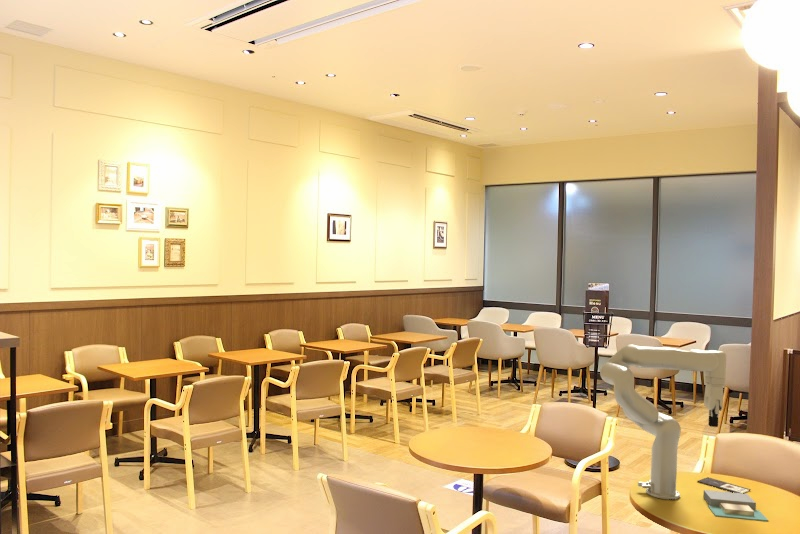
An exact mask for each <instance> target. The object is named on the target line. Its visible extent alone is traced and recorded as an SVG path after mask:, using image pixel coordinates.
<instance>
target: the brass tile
mask: <svg viewBox="0 0 800 534" xmlns="http://www.w3.org/2000/svg"><path fill="white" fill-rule="evenodd" d="M719 507H720V508H721V509H722V510H723V511H724V512H725V513H729V514H739V515H750V516H754V511H753V510H752V509H751V508H750V507H749V506H748V505H745V504H734V503H723V502H720V504H719Z"/></svg>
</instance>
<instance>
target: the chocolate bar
mask: <svg viewBox="0 0 800 534" xmlns="http://www.w3.org/2000/svg"><path fill="white" fill-rule="evenodd" d="M696 483H699V484H701V485H702V484H703V485H706V486H709V487H712V486H713V488H715V487H716V489H719V490H722V489H723V491H726V490H727V491H726V492H729V491H730V492H734V493H744V494H747V493H748V491H749V492H750V490H752V489H750V488H747V487H743V486H739V485H737V484H734V483H729V482H727V481H723V480H719V479H716V478H712V477H708V476H707V477H704V478H702V479H699V480H697V481H696Z"/></svg>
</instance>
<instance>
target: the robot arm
mask: <svg viewBox="0 0 800 534" xmlns="http://www.w3.org/2000/svg"><path fill="white" fill-rule="evenodd" d="M600 367H601V368H600V373H599V375H600V378H601V379H602V381H603V382H605V383H607V384H609V385H611V386H614V387H613V388H614V391H613V392H614V393H613V394H614V399H615V402H616V403H617V405H619V407H621V408H622V412H623V414H624V415H625V417H626V418H627V419H628V420H630V421H631V422H632V423H634V424H635V425H637V426H638V427H639V428H641V429H642V430H643V431H645V432H647V433H649V435H652V436H655V437H654V440H653V442H652V446H651V456H650V457H651V459H650V460H651V461H650V463H651V464H650V479H648V481H645V482H643V481H640V480H639V481H638V482H637V486H638V487H640V488H641V487H642V488H641V489H645V492H646V494H647V495H649V496H651V497H653V498H655V499H656V498H657V499H661V500H669V499H670V501H671V499H672V500H678V499H679V498H681V493H680V492H679V491H677V475H678V474H677V469H678V449H679V441H680V439H681V438H680V437H681V434H682V431H681V430H682V428H681V425H680V423H679V421H678V420H677V419H675V418H674V417H672V416H670V415H667V414H666V413H662V412H660V411H659V410H658V408H657V406H656V405H655V404H654V403H652V402H651V401H650V400H648V399H646V397H644V396H643V395H641V394H640V393H639V392H637V390H636V389H635V377H634V373H633V371H632V370H631V369H630V367H635V368H638V369H650V370H651V369H653V370H654V369H657V370H658V369H660V370H675V371H676V370H677V371H689V372H690V371H691V372H704V385H705V387H704V396H703V397H704V398H703V406H704V407H705V408H707V410H708V424H707V425H708V426H709V427H711V428H712V427H714V428H718V427H719V415H720V411H722V410H723V409H724V407H723V406H724V387H726V373H727V371H726V368H727V354H726V352H725V351H722V350H716V349H715V350H714V349H710V350H703V349H695V348H694V349H693V348H692V349H689V350H682V349H677V348H673V347H658V346H656V347H655V346H640V345H635V344H633V343H632V344H626V345H625V346H623V347H621V348H620V349H619V350H617V352H615V353H614V354H613V355H612V356H611V357H610V358H609V359H608V360H606V361H605V362H604V363H603V365H602V366H600Z"/></svg>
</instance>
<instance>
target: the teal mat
mask: <svg viewBox="0 0 800 534" xmlns="http://www.w3.org/2000/svg"><path fill="white" fill-rule="evenodd" d="M707 507H708V508H709V510H710V511H711V512H712V514H713V515H714V517H721V518H728V517H729V518H730V519H740V520H751V521H760V522H761V521H763V522H769V521H770V520H769V518H767V516H765V515H764V514H763V513H762V512H761V511H760V510H758V509H756V510H753V511H754V516H750V515H739V514H729V513H725V512H724V511H723V510H722V509H721V508H720V507H719V506H710V505H709V504H708V505H707Z"/></svg>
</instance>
